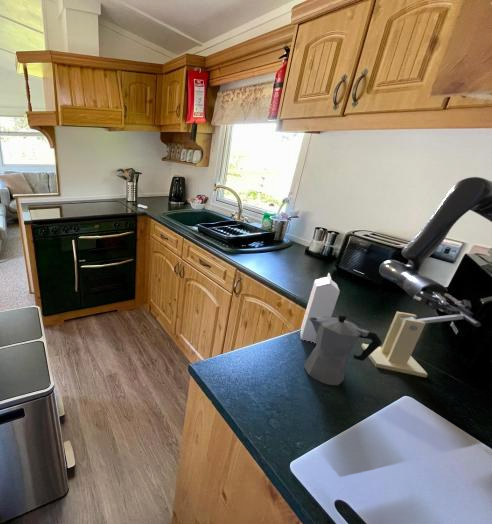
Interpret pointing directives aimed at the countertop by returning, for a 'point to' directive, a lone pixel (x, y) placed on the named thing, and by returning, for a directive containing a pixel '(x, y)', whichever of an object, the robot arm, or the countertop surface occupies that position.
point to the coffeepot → (335, 348)
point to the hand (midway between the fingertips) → (463, 315)
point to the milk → (319, 305)
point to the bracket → (399, 346)
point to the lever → (446, 318)
